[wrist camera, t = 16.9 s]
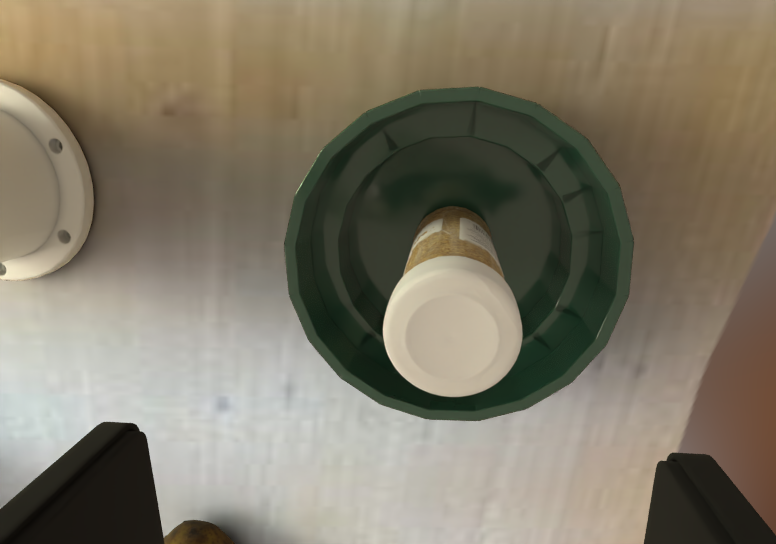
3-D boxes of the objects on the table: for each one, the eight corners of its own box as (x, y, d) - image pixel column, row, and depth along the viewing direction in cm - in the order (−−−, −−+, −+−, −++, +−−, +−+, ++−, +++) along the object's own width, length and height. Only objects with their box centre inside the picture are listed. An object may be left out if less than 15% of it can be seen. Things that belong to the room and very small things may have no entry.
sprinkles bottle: (405, 215, 29) (364, 286, 16) (484, 196, 28) (509, 255, 15) (423, 289, 30) (399, 412, 17) (500, 274, 29) (536, 391, 16)
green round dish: (292, 323, 32) (257, 365, 26) (354, 60, 27) (327, 42, 22) (536, 399, 31) (554, 460, 26) (644, 144, 27) (696, 148, 21)
